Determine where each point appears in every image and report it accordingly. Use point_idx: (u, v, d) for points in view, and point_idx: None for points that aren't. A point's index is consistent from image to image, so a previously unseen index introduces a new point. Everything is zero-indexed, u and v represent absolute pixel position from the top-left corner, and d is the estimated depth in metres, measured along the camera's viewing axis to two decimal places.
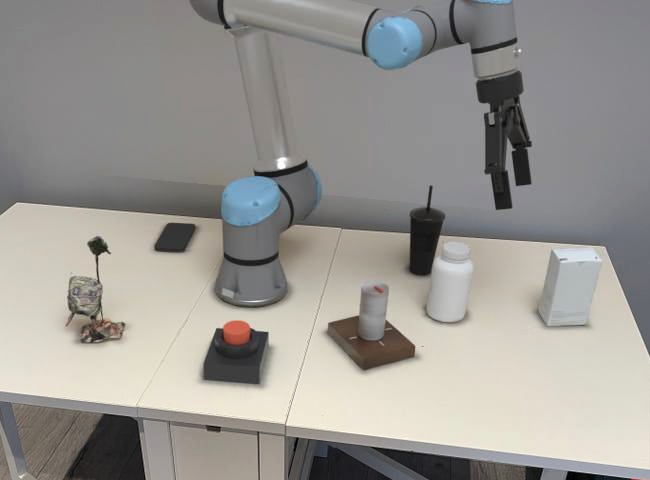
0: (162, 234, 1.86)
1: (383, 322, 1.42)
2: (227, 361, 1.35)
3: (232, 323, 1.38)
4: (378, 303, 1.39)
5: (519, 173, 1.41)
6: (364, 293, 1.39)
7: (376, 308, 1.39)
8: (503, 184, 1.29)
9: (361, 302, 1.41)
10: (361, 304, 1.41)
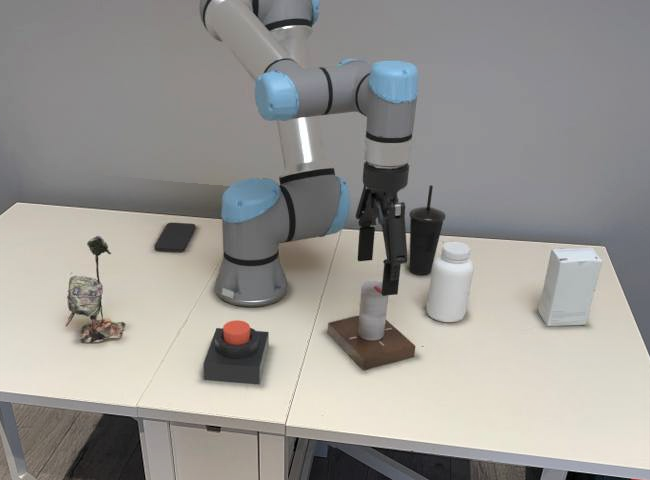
0: (162, 234, 1.86)
1: (383, 322, 1.42)
2: (227, 361, 1.35)
3: (232, 323, 1.38)
4: (378, 303, 1.39)
5: (364, 249, 1.42)
6: (364, 293, 1.39)
7: (376, 308, 1.39)
8: None
9: (361, 302, 1.41)
10: (361, 304, 1.41)
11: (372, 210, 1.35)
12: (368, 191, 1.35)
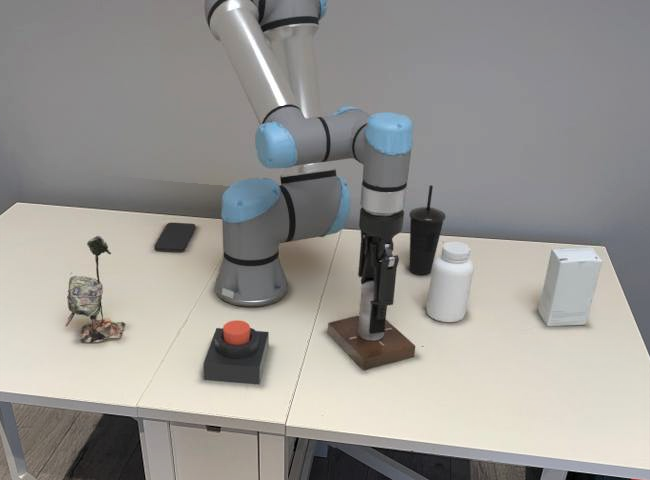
0: (162, 234, 1.86)
1: None
2: (227, 361, 1.35)
3: (232, 323, 1.38)
4: None
5: None
6: (364, 293, 1.39)
7: None
8: None
9: (361, 302, 1.41)
10: (361, 304, 1.41)
11: (371, 259, 1.38)
12: None
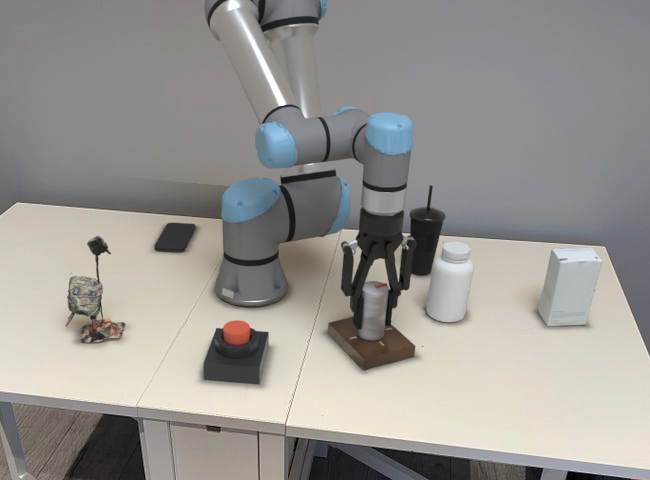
0: (162, 234, 1.86)
1: None
2: (227, 361, 1.35)
3: (232, 323, 1.38)
4: None
5: None
6: (383, 295, 1.38)
7: None
8: None
9: (379, 307, 1.39)
10: (379, 308, 1.39)
11: None
12: (352, 256, 1.34)
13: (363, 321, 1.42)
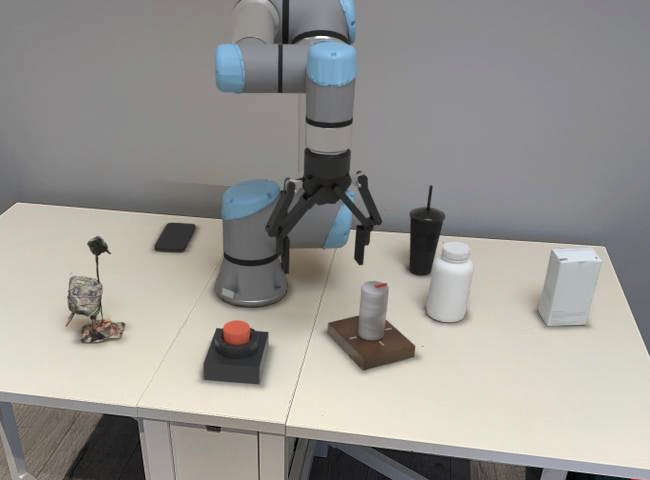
0: (162, 234, 1.86)
1: None
2: (227, 361, 1.35)
3: (232, 323, 1.38)
4: None
5: None
6: (383, 295, 1.38)
7: None
8: None
9: (379, 307, 1.39)
10: (379, 308, 1.39)
11: None
12: None
13: (363, 321, 1.42)
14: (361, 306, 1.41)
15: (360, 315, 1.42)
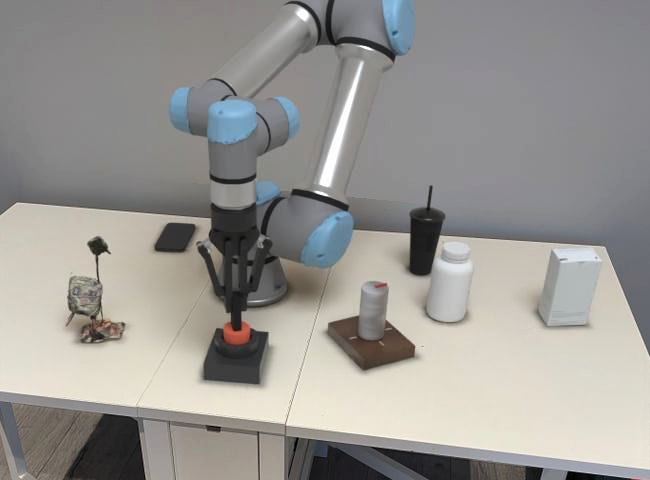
0: (162, 234, 1.86)
1: None
2: (227, 361, 1.35)
3: None
4: None
5: None
6: (383, 295, 1.38)
7: None
8: None
9: (379, 307, 1.39)
10: (379, 308, 1.39)
11: None
12: (210, 255, 1.27)
13: (363, 321, 1.42)
14: (361, 306, 1.41)
15: (360, 315, 1.42)
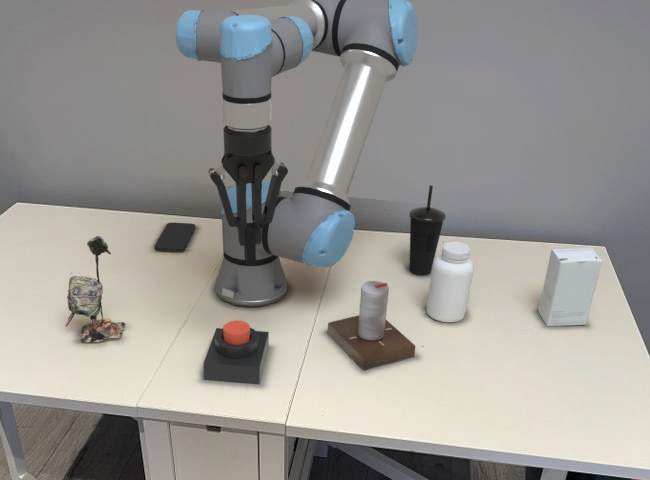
0: (162, 234, 1.86)
1: None
2: (227, 361, 1.35)
3: (232, 323, 1.38)
4: None
5: None
6: (383, 295, 1.38)
7: None
8: None
9: (379, 307, 1.39)
10: (379, 308, 1.39)
11: None
12: None
13: (363, 321, 1.42)
14: (361, 306, 1.41)
15: (360, 315, 1.42)
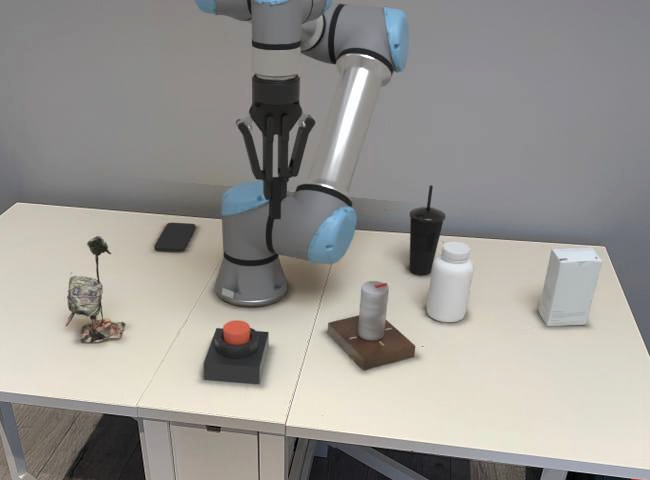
0: (162, 234, 1.86)
1: None
2: (227, 361, 1.35)
3: (232, 323, 1.38)
4: None
5: None
6: (383, 295, 1.38)
7: None
8: None
9: (379, 307, 1.39)
10: (379, 308, 1.39)
11: None
12: (250, 133, 1.22)
13: (363, 321, 1.42)
14: (361, 306, 1.41)
15: (360, 315, 1.42)
